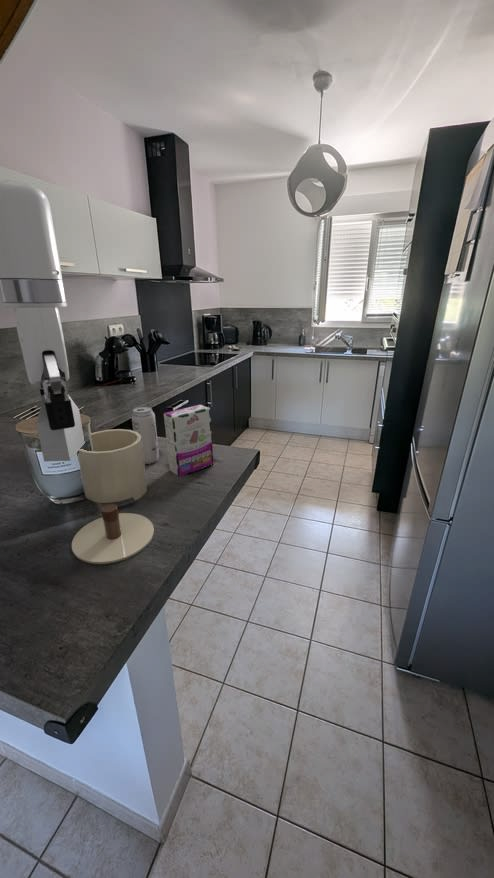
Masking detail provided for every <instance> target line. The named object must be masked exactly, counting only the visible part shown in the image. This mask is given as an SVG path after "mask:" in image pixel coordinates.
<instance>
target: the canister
mask: <svg viewBox="0 0 494 878" xmlns="http://www.w3.org/2000/svg"><path fill="white" fill-rule="evenodd" d="M90 434H91V438H92V443H93V450H94V451H87V450H84V449H80V450H79V453H78V459H79V466H80V471H79V474H80V473H81V476H80V480H81V479H82V481H81V486H82V485H83V486H82V490H83V494H84V496H85V498H86V499H87V500H89V501H91V502H93V503H100V504H112V503H119V502H123V501H127V500H129V499H133V500H134V501H135V502H136V501H137V500H139V499H141V498H142V497H143V496H144V495H145V494H146V493H147V491H148V480H147V471H146V465H145V462H144V454H143V446H142V437H141V435H140V434H139V433H138V432H135V431H133V429H124V428H123V429H122V428H116V429H115V428H114V429H105V430H100V431H95V432H92V433H90ZM79 466H78V467H79ZM125 505H127V503H125V504H123V505H121V507H122V506H125Z"/></svg>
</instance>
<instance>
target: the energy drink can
mask: <svg viewBox="0 0 494 878" xmlns="http://www.w3.org/2000/svg"><path fill="white" fill-rule="evenodd" d="M131 424H132V431H135V432H138V433H139V434H140V435H141V437H142V446H143V454H144V462H145V464H149V465H151V464H150V463H153V462H155V461H157V462H158V460H159V458H160V453H159V452H160V451H159V441H158V432H157V421H156V414H155V412H154V411H153V408H152V407H150V406H139V407H135V408H134V409H132V414H131ZM155 463H156V462H155ZM153 464H154V463H153Z"/></svg>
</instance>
